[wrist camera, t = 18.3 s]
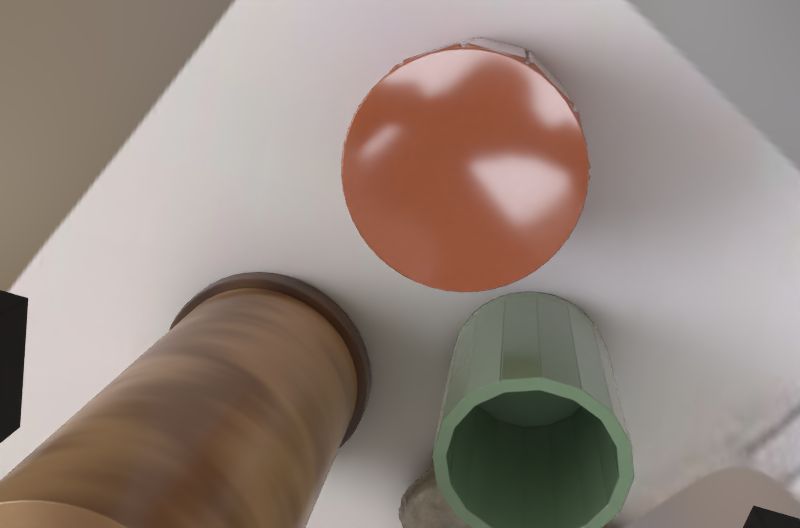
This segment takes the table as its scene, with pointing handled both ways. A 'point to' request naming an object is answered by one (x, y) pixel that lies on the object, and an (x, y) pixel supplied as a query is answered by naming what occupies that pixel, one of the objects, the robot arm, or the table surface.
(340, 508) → the table surface
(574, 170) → the terracotta cylinder
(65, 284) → the table surface
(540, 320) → the green cup
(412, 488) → the elongated rock
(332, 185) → the table surface
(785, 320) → the table surface
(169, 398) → the towel holder
